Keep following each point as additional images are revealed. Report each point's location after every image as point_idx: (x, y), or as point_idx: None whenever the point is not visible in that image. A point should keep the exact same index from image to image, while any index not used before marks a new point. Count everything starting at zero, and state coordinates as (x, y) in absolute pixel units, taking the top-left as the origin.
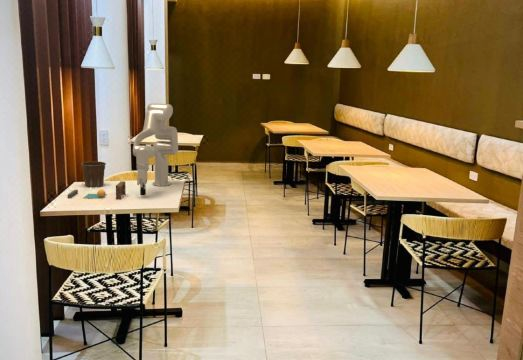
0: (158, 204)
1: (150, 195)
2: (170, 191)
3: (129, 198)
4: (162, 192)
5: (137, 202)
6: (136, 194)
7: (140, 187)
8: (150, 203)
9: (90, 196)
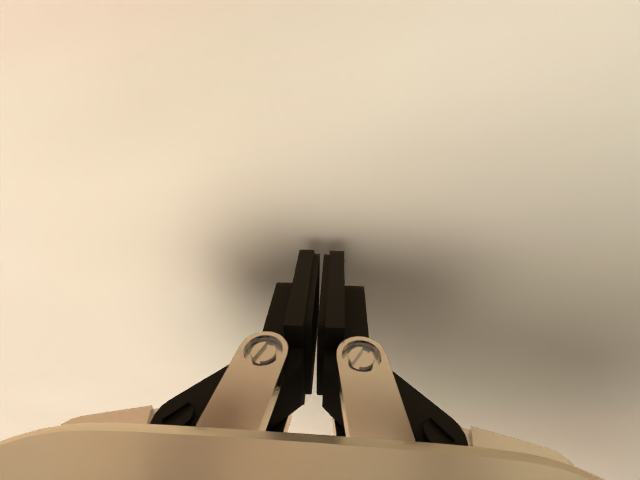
0: (41, 412)
1: (442, 333)
2: (619, 476)
3: (206, 45)
4: (593, 426)
5: (2, 228)
6: (563, 127)
7: (225, 379)
8: (39, 358)
9: None
